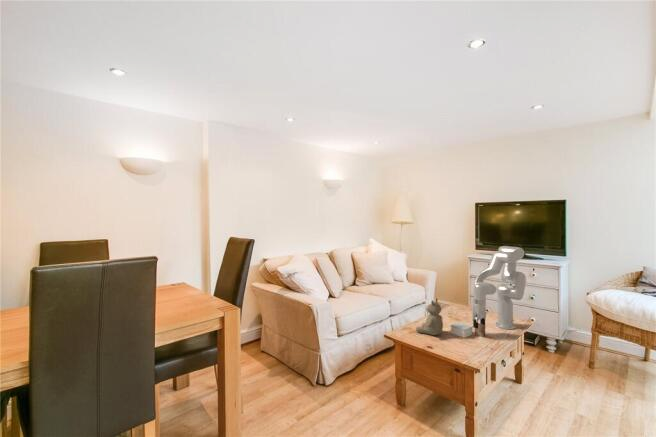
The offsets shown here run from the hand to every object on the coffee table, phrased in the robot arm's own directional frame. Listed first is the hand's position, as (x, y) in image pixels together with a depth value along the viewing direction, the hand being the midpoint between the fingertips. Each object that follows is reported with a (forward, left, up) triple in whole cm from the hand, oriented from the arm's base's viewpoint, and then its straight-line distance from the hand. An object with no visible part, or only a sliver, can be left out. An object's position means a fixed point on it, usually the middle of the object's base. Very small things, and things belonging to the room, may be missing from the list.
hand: (479, 326), depth 208 cm
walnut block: (-1, 0, -6) cm, 6 cm away
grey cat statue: (+23, -24, -6) cm, 34 cm away
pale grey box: (+7, -9, -7) cm, 13 cm away
